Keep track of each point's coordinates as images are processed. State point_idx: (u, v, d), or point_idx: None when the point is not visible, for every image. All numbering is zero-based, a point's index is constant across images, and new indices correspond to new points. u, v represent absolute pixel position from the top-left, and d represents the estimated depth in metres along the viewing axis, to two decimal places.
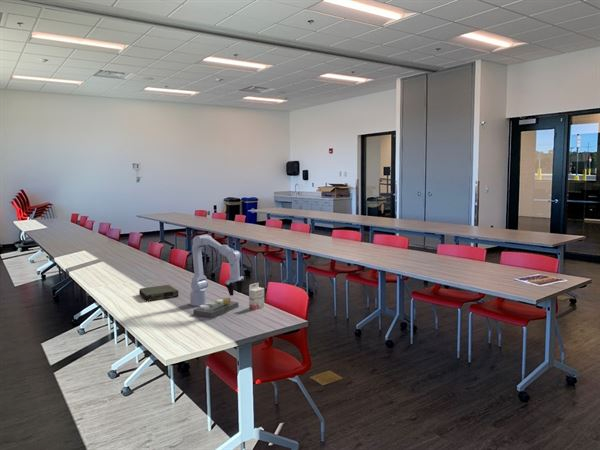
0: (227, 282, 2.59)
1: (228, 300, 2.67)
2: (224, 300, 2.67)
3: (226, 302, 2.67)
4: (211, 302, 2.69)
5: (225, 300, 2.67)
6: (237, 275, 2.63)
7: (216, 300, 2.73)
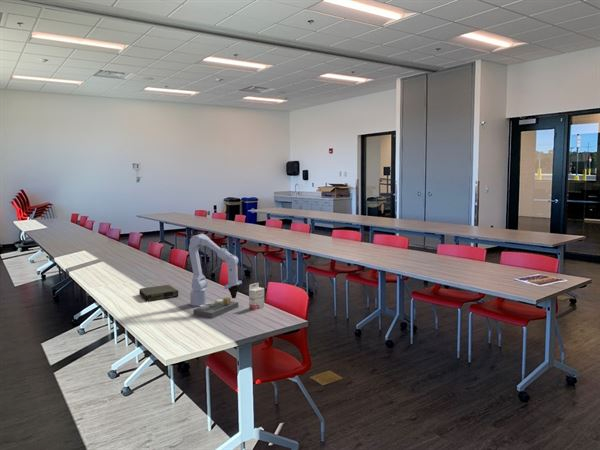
0: (226, 287, 2.66)
1: (228, 300, 2.67)
2: (224, 300, 2.67)
3: (226, 302, 2.67)
4: (211, 302, 2.69)
5: (225, 300, 2.67)
6: (235, 280, 2.70)
7: (216, 300, 2.73)
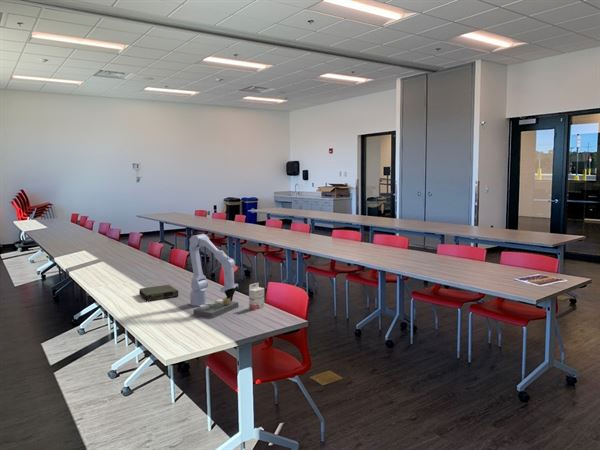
0: (222, 290, 2.63)
1: (228, 300, 2.67)
2: (224, 300, 2.67)
3: (226, 302, 2.66)
4: (211, 302, 2.69)
5: (225, 300, 2.67)
6: (231, 283, 2.67)
7: (216, 300, 2.73)
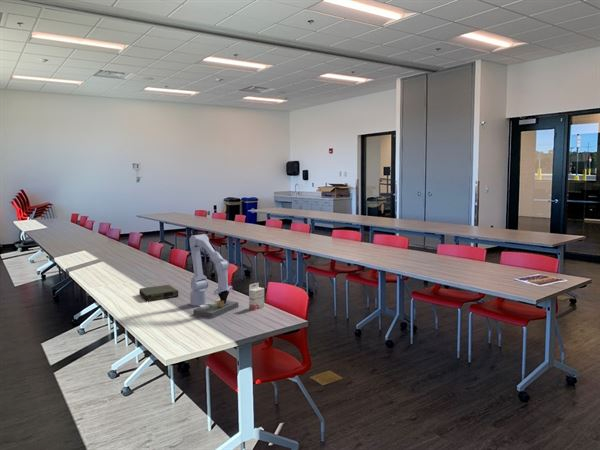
0: (215, 292, 2.58)
1: (222, 302, 2.62)
2: (218, 302, 2.62)
3: (220, 305, 2.61)
4: (211, 302, 2.69)
5: (219, 302, 2.62)
6: (225, 285, 2.62)
7: (216, 300, 2.73)
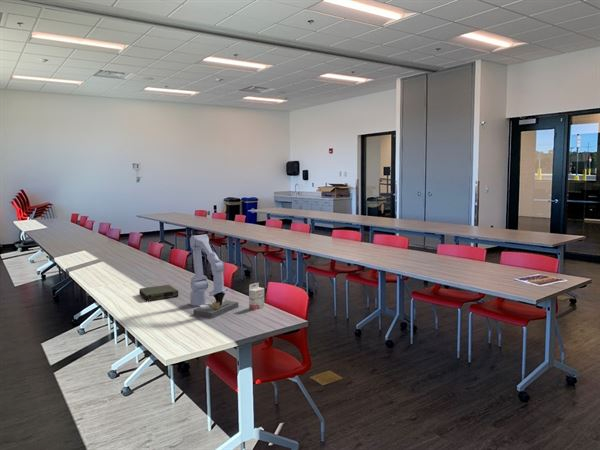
0: (210, 294, 2.55)
1: (217, 304, 2.59)
2: (213, 304, 2.59)
3: (215, 306, 2.58)
4: (211, 302, 2.69)
5: (214, 304, 2.58)
6: (221, 286, 2.59)
7: None
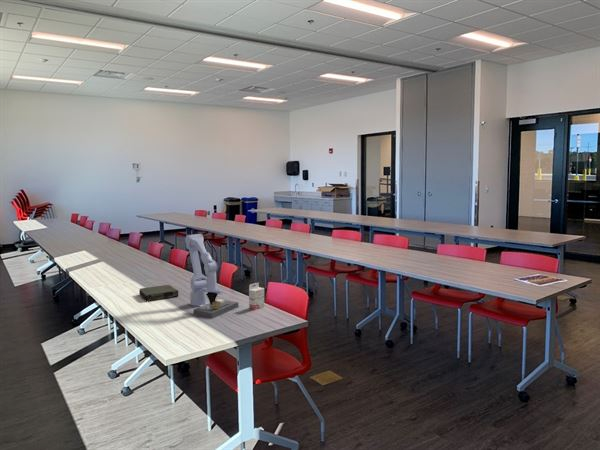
0: None
1: (217, 304, 2.58)
2: (213, 304, 2.59)
3: (215, 306, 2.58)
4: None
5: (214, 304, 2.58)
6: (207, 286, 2.64)
7: (216, 300, 2.73)
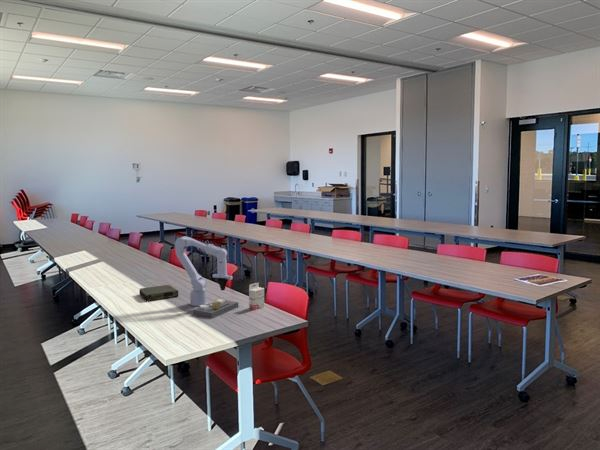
0: None
1: (217, 304, 2.58)
2: (213, 304, 2.59)
3: (215, 306, 2.58)
4: (211, 303, 2.69)
5: (214, 304, 2.58)
6: (218, 272, 2.75)
7: (216, 300, 2.73)
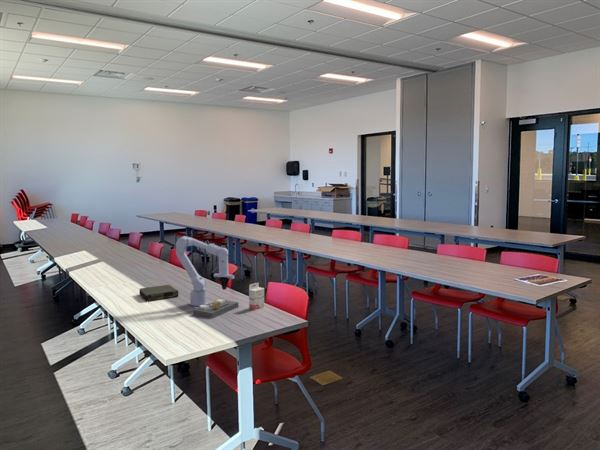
0: None
1: (217, 304, 2.58)
2: (213, 304, 2.59)
3: (215, 306, 2.58)
4: (211, 303, 2.69)
5: (214, 304, 2.58)
6: (220, 271, 2.77)
7: (216, 300, 2.73)
